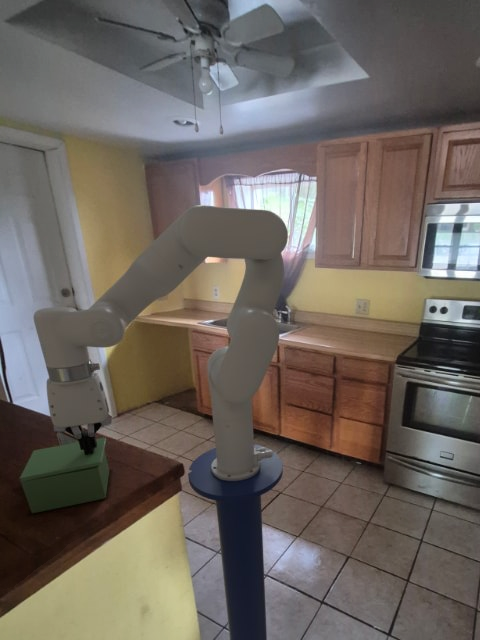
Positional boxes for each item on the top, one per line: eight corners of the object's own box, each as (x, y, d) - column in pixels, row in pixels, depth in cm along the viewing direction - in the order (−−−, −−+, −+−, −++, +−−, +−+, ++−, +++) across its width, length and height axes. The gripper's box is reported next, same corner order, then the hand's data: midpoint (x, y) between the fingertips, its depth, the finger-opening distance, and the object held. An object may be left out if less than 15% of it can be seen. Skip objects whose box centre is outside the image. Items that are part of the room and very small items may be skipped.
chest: (109, 470, 90) (103, 442, 87) (105, 498, 80) (98, 468, 77) (44, 482, 85) (34, 453, 82) (31, 513, 75) (20, 482, 72)
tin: (105, 465, 92) (97, 435, 88) (92, 471, 89) (85, 441, 86) (70, 449, 99) (63, 420, 95) (58, 454, 96) (50, 425, 93)
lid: (106, 440, 87) (105, 437, 86) (101, 465, 77) (100, 461, 77) (34, 453, 82) (33, 450, 82) (20, 481, 72) (19, 478, 72)
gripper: (113, 362, 79) (127, 437, 86) (31, 369, 74) (54, 449, 81) (110, 373, 73) (126, 453, 80) (20, 382, 68) (46, 466, 75)
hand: (90, 451), depth 81 cm, fingers closed
